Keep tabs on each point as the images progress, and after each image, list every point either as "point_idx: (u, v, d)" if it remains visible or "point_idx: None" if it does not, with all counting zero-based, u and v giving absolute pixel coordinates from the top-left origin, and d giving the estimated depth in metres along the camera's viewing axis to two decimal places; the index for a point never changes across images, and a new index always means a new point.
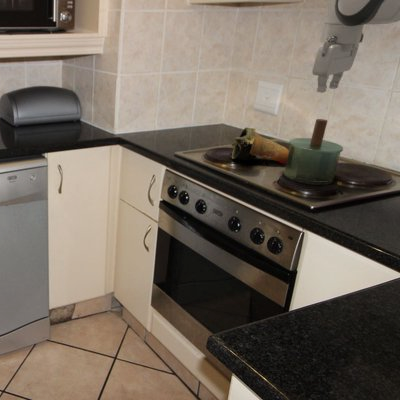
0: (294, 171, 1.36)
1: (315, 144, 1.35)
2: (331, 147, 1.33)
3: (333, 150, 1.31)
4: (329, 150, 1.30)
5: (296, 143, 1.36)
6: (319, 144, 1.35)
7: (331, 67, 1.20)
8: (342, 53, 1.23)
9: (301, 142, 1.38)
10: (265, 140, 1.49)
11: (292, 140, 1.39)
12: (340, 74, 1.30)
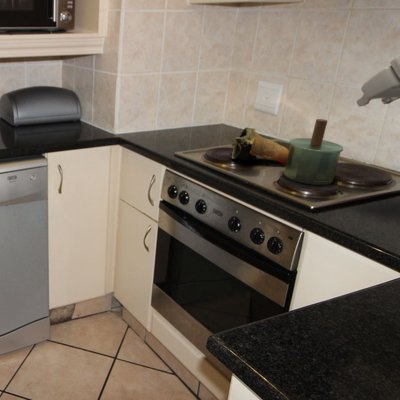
0: (294, 171, 1.36)
1: (315, 144, 1.35)
2: (331, 147, 1.33)
3: (333, 150, 1.31)
4: (329, 150, 1.30)
5: (296, 143, 1.36)
6: (319, 144, 1.35)
7: None
8: None
9: (301, 142, 1.38)
10: (265, 140, 1.49)
11: (292, 140, 1.39)
12: None
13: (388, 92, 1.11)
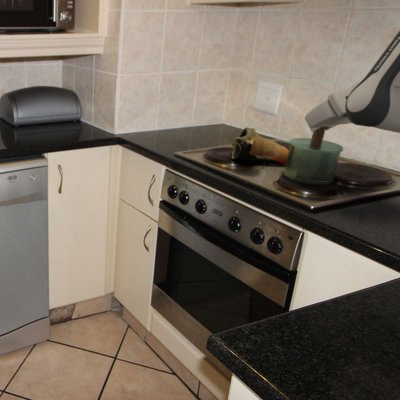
0: (294, 171, 1.36)
1: (315, 144, 1.35)
2: (331, 147, 1.33)
3: (333, 150, 1.31)
4: (329, 150, 1.30)
5: (296, 143, 1.36)
6: (319, 144, 1.35)
7: None
8: None
9: (301, 142, 1.38)
10: (265, 140, 1.49)
11: (292, 140, 1.39)
12: None
13: (327, 121, 1.26)
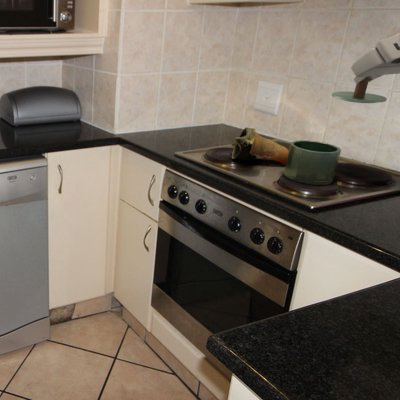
0: (294, 171, 1.36)
1: (359, 95, 1.38)
2: (375, 97, 1.36)
3: (378, 99, 1.34)
4: (374, 99, 1.34)
5: (339, 95, 1.40)
6: (362, 95, 1.38)
7: None
8: None
9: (344, 94, 1.41)
10: (265, 140, 1.49)
11: (335, 93, 1.42)
12: None
13: (374, 70, 1.29)
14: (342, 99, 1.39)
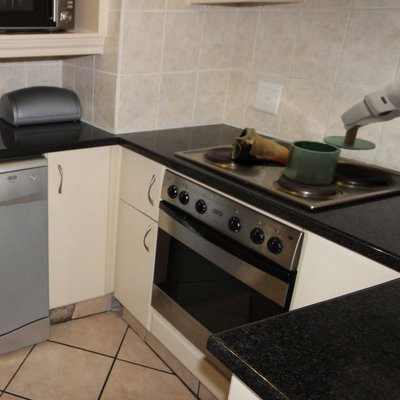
0: (294, 171, 1.36)
1: (349, 141, 1.44)
2: (364, 144, 1.42)
3: (366, 147, 1.39)
4: (363, 147, 1.39)
5: (330, 141, 1.45)
6: (352, 141, 1.43)
7: None
8: None
9: (335, 140, 1.47)
10: (265, 140, 1.49)
11: (326, 138, 1.48)
12: None
13: (362, 120, 1.34)
14: None
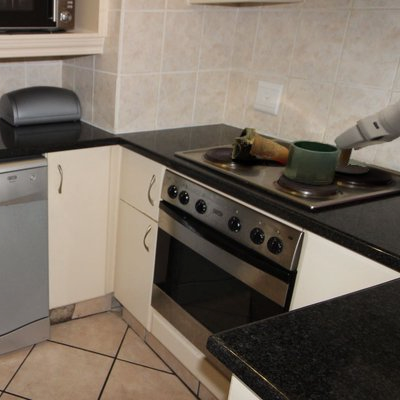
0: (294, 171, 1.36)
1: (342, 165, 1.47)
2: None
3: None
4: None
5: None
6: (346, 165, 1.46)
7: None
8: None
9: None
10: (265, 140, 1.49)
11: None
12: None
13: (355, 144, 1.37)
14: None
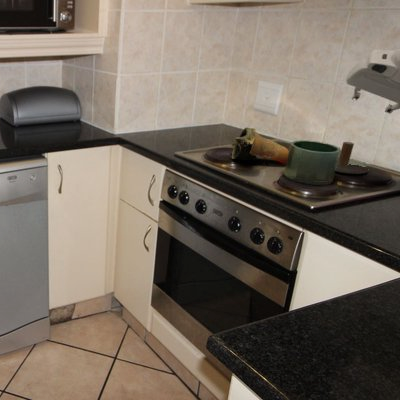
0: (294, 171, 1.36)
1: (342, 165, 1.47)
2: None
3: None
4: None
5: None
6: (346, 165, 1.46)
7: None
8: None
9: None
10: (265, 140, 1.49)
11: None
12: None
13: (365, 81, 1.31)
14: None
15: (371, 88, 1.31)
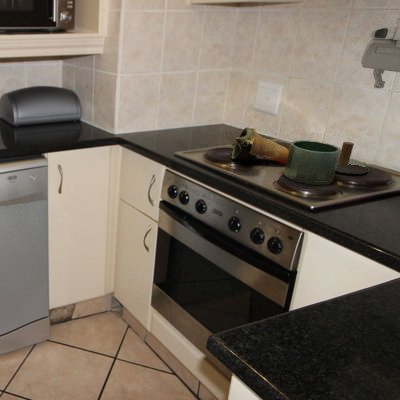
0: (294, 171, 1.36)
1: (342, 165, 1.47)
2: None
3: None
4: None
5: None
6: (346, 165, 1.46)
7: None
8: None
9: None
10: (265, 140, 1.49)
11: None
12: (382, 72, 1.23)
13: (378, 57, 1.21)
14: None
15: (386, 64, 1.20)
